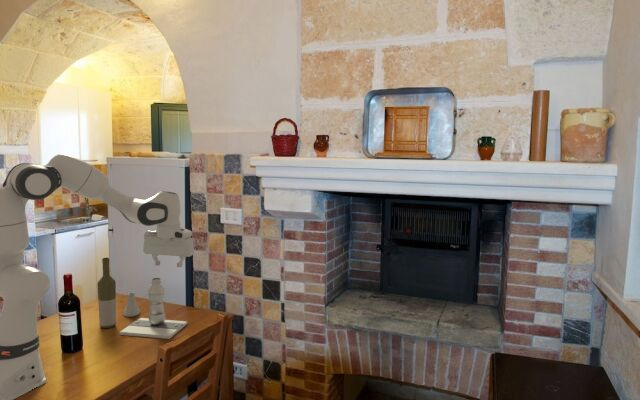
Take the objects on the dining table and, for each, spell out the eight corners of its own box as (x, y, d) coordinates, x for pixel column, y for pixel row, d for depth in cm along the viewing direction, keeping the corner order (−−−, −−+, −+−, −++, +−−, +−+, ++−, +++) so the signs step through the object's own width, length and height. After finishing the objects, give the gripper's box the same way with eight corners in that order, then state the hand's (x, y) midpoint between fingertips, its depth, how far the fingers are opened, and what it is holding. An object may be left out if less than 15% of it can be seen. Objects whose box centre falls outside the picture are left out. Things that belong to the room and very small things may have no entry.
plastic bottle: (165, 325, 191) (165, 280, 189) (149, 327, 188) (148, 281, 186) (164, 320, 197) (164, 276, 195) (148, 322, 194) (147, 277, 192)
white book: (169, 338, 181) (169, 334, 181) (119, 334, 184) (119, 330, 184) (186, 324, 197) (186, 320, 197) (140, 320, 200) (140, 316, 200)
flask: (119, 316, 205) (119, 295, 204) (130, 310, 212) (130, 290, 210) (132, 318, 203) (132, 296, 201) (143, 312, 209) (143, 292, 208)
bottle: (120, 323, 196) (118, 256, 192) (111, 329, 189) (108, 260, 186) (104, 322, 196) (102, 256, 193) (95, 329, 189) (93, 259, 186)
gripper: (140, 231, 175) (140, 266, 176) (188, 234, 172) (188, 269, 173) (148, 229, 181) (148, 262, 182) (195, 231, 178) (195, 265, 179)
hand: (168, 266), depth 178 cm, fingers open, 8 cm apart
